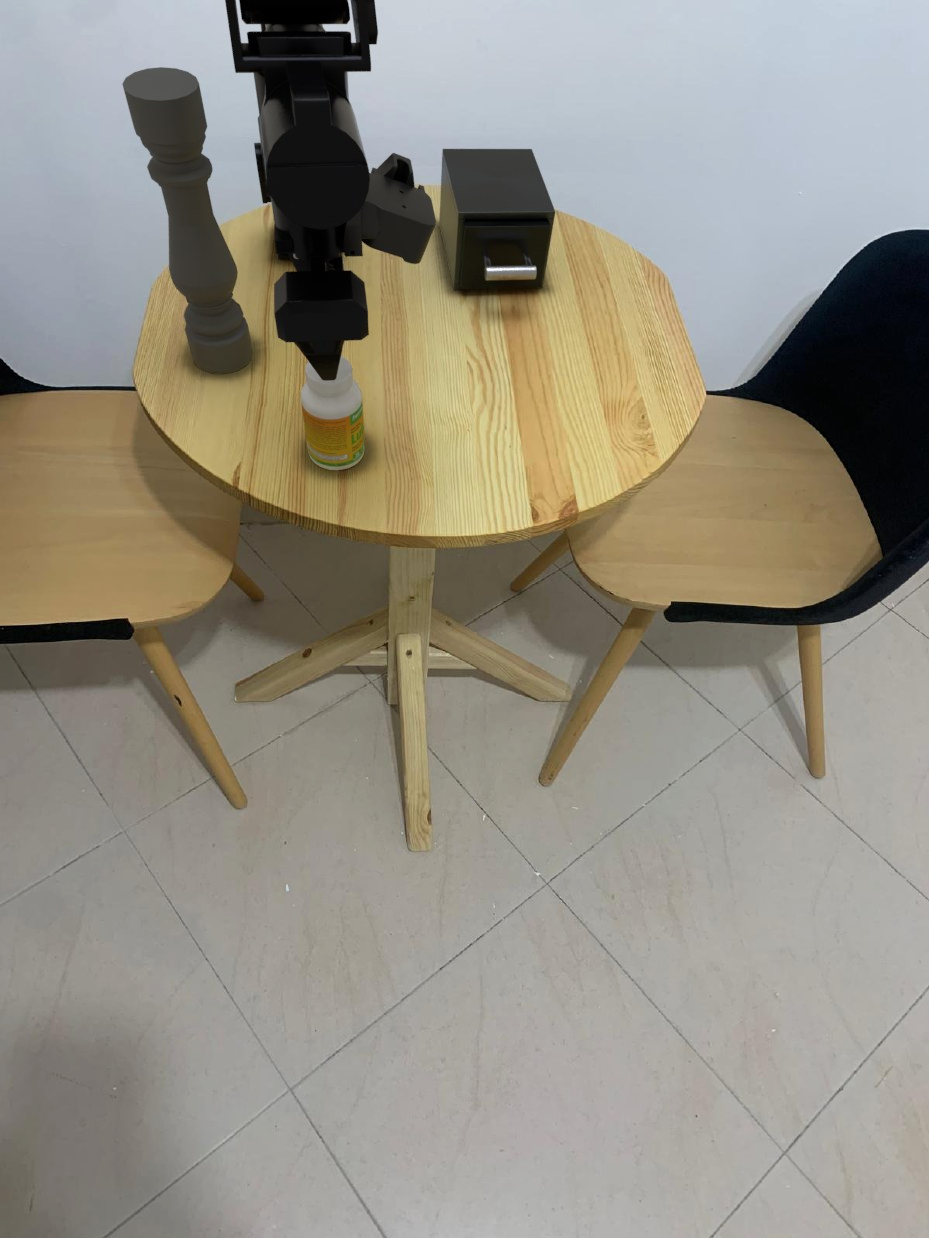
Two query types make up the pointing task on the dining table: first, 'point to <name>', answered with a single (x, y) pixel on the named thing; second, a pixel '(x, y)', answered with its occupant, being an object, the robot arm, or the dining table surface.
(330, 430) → the supplement bottle
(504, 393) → the dining table surface
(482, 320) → the dining table surface
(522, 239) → the drawer
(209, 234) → the candle holder
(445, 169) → the cabinet
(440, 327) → the dining table surface
